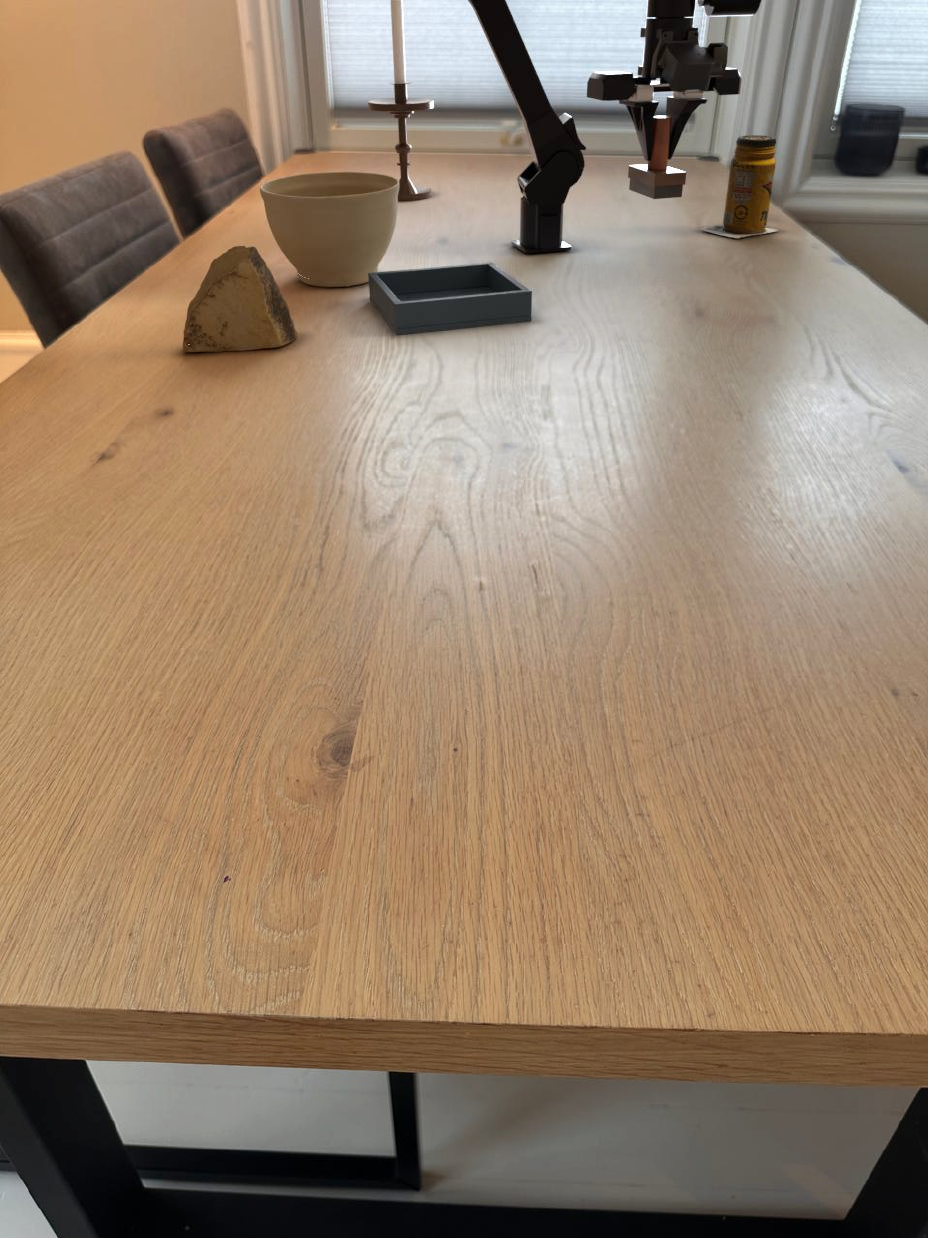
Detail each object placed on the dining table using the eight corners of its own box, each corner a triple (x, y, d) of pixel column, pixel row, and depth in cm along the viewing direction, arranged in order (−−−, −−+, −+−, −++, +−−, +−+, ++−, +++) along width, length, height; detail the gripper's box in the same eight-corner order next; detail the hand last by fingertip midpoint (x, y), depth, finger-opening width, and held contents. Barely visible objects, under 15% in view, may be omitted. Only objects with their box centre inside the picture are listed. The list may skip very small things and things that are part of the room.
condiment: (778, 231, 134) (793, 137, 127) (736, 239, 130) (750, 142, 124) (740, 223, 139) (752, 132, 132) (698, 230, 135) (709, 137, 129)
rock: (152, 338, 89) (244, 330, 86) (159, 250, 89) (251, 239, 86) (217, 376, 99) (301, 370, 96) (223, 296, 100) (307, 288, 96)
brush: (626, 189, 128) (632, 114, 123) (656, 187, 129) (663, 112, 124) (653, 199, 121) (659, 120, 116) (684, 197, 122) (692, 118, 117)
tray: (369, 300, 107) (367, 272, 105) (492, 289, 110) (492, 261, 109) (396, 335, 96) (394, 304, 94) (531, 321, 99) (532, 290, 98)
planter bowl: (244, 281, 115) (231, 184, 109) (344, 257, 125) (337, 167, 119) (330, 304, 106) (320, 200, 100) (431, 276, 116) (427, 179, 110)
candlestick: (448, 193, 164) (443, -54, 145) (413, 203, 157) (402, -56, 137) (398, 188, 169) (386, -51, 150) (361, 197, 162) (343, -53, 142)
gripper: (627, 20, 106) (617, 173, 114) (774, 16, 110) (754, 163, 118) (588, 19, 114) (581, 160, 123) (726, 15, 119) (710, 152, 127)
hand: (657, 159), depth 123 cm, fingers closed on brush, 2 cm apart
